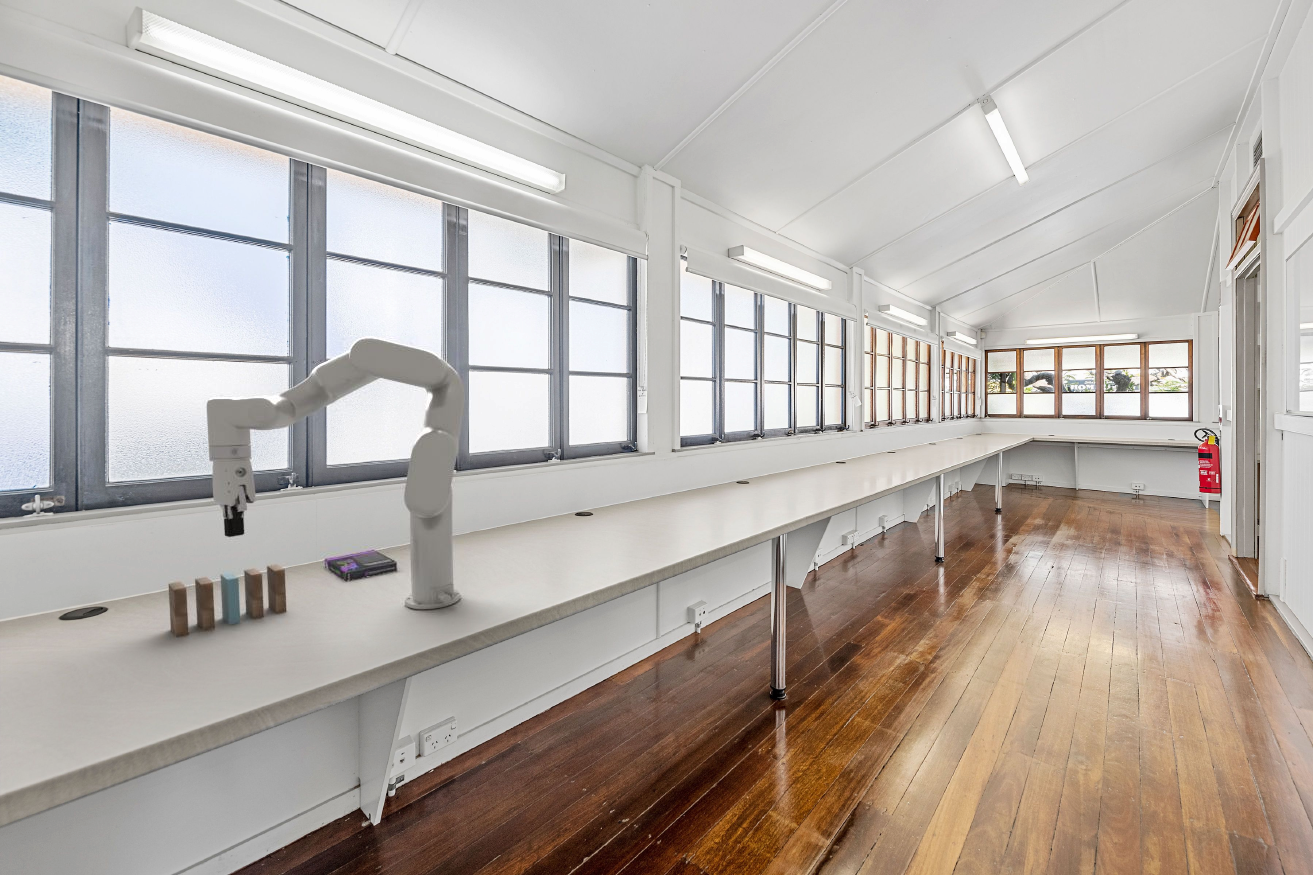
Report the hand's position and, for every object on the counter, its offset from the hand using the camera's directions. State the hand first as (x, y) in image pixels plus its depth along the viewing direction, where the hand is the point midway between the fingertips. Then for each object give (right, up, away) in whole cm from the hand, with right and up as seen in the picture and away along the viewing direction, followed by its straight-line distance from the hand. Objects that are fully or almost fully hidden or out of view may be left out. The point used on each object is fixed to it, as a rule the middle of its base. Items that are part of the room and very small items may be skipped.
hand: (234, 535), depth 130 cm
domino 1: (-7, -19, -7) cm, 22 cm away
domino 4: (+2, -19, +4) cm, 19 cm away
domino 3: (-1, -19, 0) cm, 19 cm away
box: (+8, -17, +40) cm, 44 cm away
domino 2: (-4, -19, -3) cm, 20 cm away
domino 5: (+5, -19, +7) cm, 20 cm away
